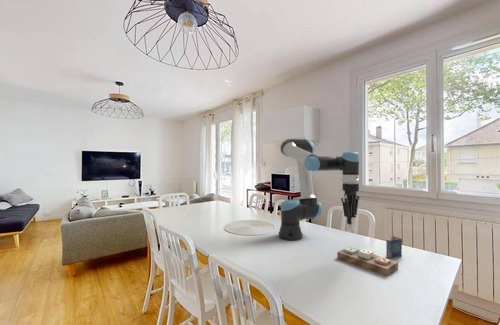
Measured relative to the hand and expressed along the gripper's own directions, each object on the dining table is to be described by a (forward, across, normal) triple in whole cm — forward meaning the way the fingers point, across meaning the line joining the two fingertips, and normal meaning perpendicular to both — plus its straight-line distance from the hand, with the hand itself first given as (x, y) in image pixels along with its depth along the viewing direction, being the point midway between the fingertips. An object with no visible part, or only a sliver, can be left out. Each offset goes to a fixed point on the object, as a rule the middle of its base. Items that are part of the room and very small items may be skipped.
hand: (350, 230), depth 114 cm
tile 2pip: (+11, 0, -8) cm, 13 cm away
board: (+14, 0, -8) cm, 16 cm away
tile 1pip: (+12, 0, 0) cm, 12 cm away
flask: (+14, +19, -12) cm, 26 cm away
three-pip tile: (+12, 0, -15) cm, 19 cm away
